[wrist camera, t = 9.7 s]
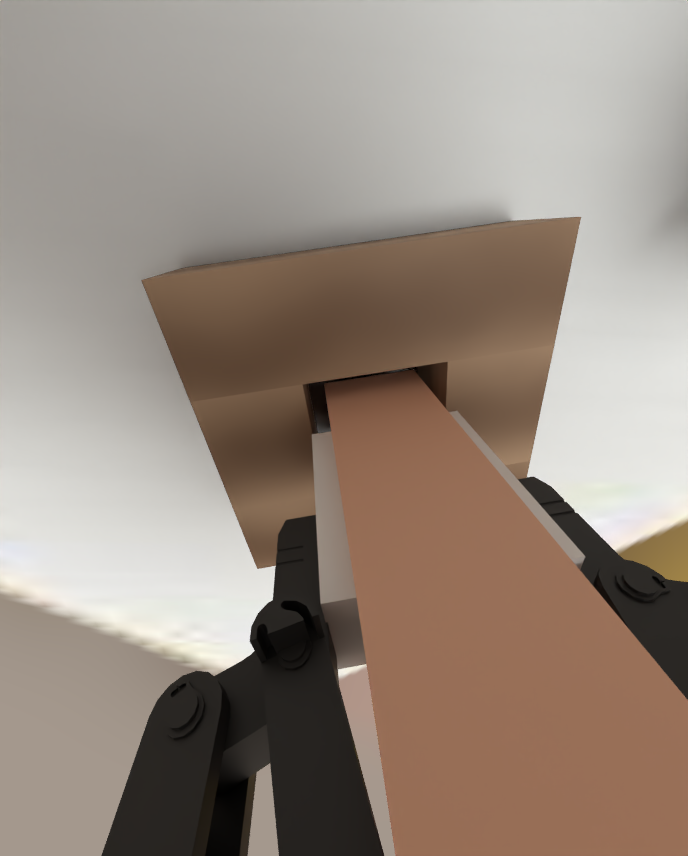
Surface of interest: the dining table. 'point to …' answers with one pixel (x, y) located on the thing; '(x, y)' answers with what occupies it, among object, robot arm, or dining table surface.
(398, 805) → the peg
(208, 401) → the socket block
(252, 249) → the dining table surface
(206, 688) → the robot arm
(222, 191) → the dining table surface
